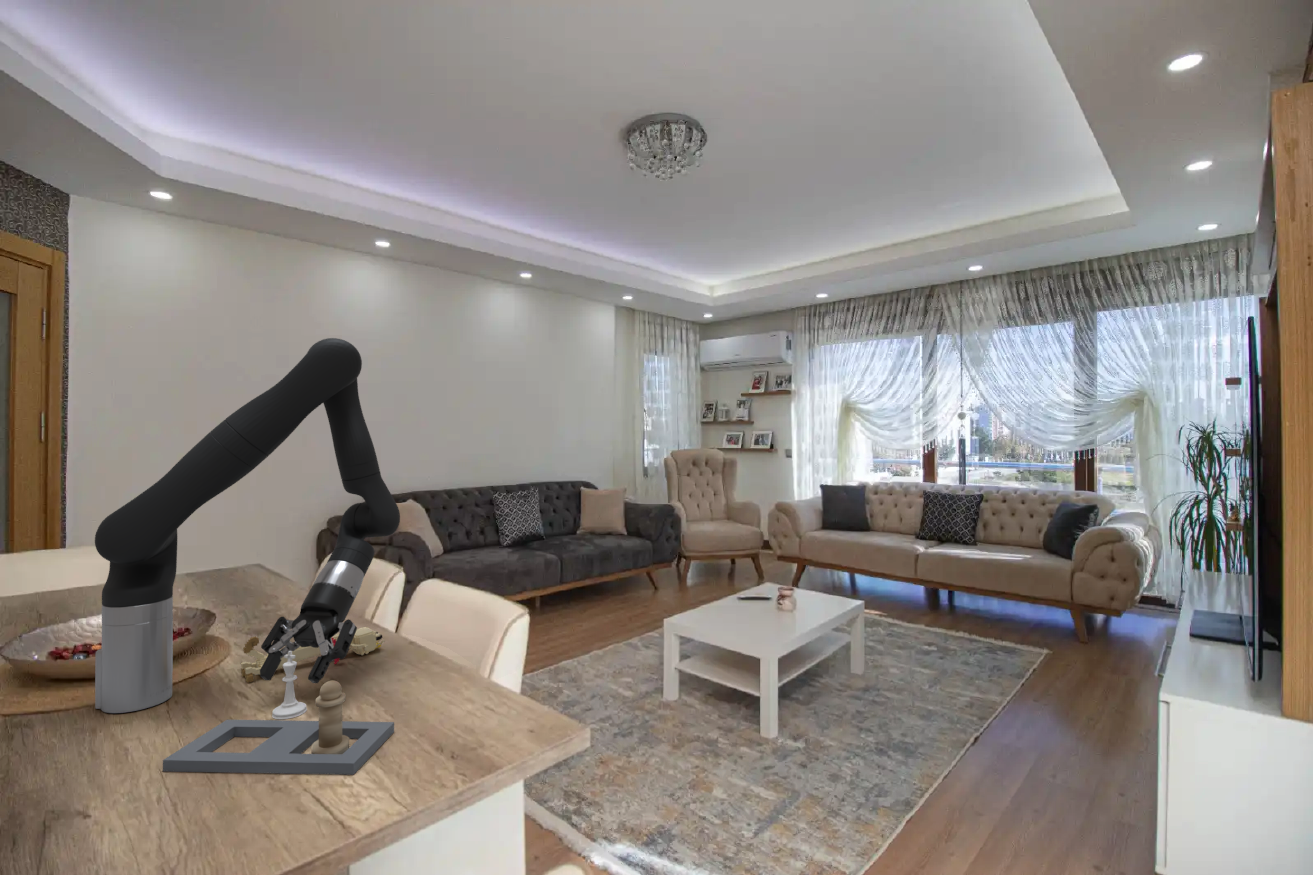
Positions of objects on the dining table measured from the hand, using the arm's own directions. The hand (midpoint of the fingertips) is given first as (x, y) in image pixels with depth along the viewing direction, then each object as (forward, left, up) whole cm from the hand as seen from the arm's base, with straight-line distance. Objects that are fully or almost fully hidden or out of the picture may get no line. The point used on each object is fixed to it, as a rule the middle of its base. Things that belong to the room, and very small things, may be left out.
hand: (288, 679), depth 100 cm
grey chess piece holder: (+7, -12, -5) cm, 15 cm away
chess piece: (0, 0, -6) cm, 6 cm away
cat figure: (-8, +23, -6) cm, 25 cm away
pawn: (+14, -12, -5) cm, 19 cm away
